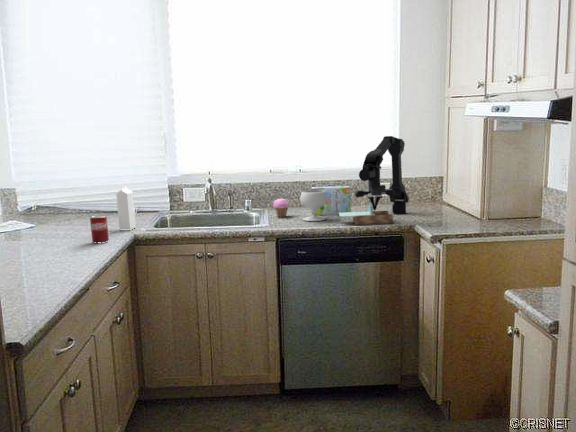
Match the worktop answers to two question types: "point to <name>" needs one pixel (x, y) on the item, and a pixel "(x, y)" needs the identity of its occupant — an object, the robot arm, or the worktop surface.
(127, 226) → the milk
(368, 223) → the walnut box
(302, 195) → the chalice
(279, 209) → the cupcake
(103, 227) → the soda can
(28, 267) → the worktop surface
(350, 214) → the lid
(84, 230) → the worktop surface
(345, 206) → the snack box
